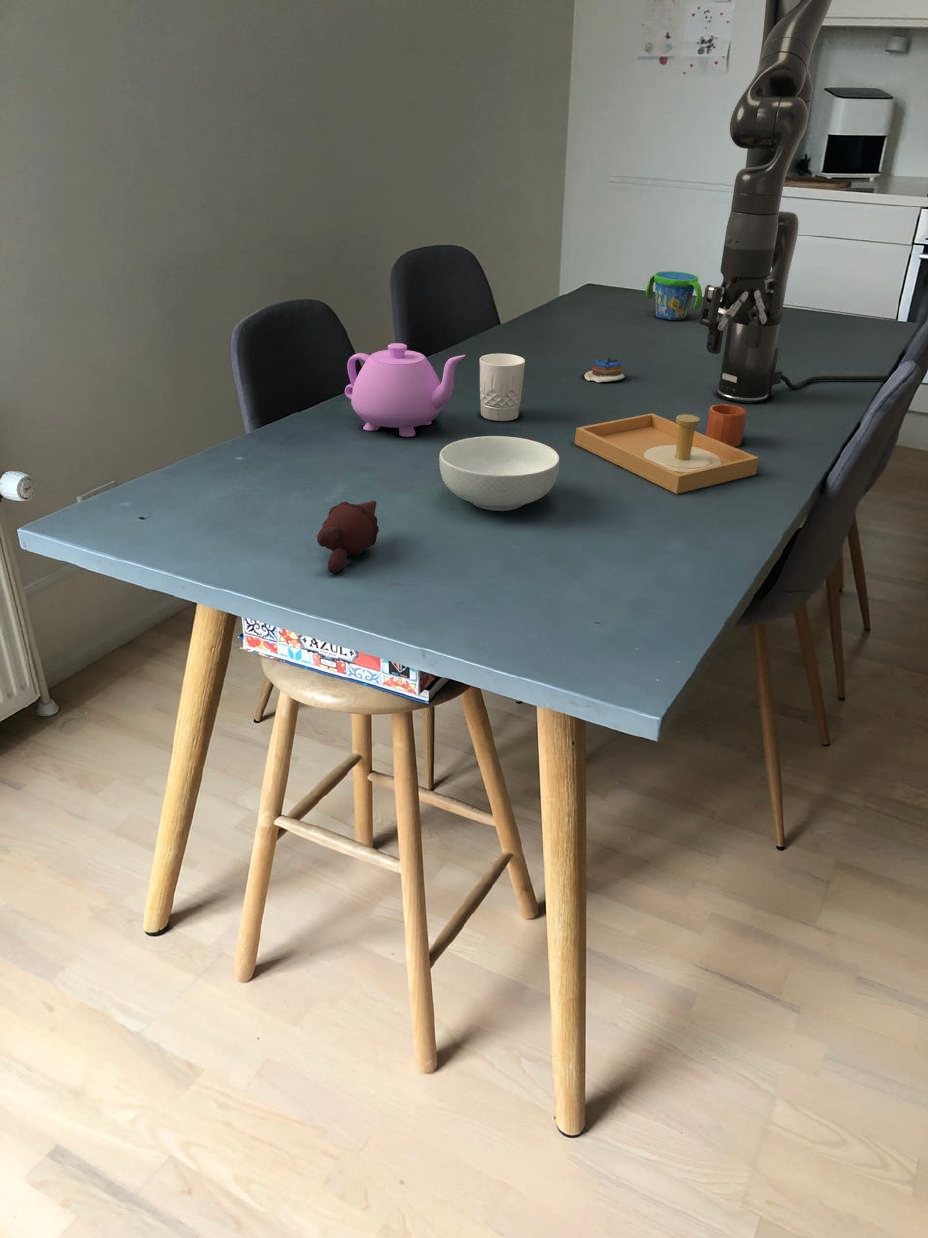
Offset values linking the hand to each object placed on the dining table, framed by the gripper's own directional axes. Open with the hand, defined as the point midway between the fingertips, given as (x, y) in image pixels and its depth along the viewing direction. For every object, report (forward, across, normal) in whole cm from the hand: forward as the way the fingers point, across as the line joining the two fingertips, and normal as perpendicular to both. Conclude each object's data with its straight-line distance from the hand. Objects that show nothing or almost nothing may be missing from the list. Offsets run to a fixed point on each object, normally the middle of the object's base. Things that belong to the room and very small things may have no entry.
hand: (732, 349), depth 161 cm
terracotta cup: (+16, +2, 0) cm, 16 cm away
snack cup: (+17, +56, +73) cm, 94 cm away
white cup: (+16, -25, +29) cm, 41 cm away
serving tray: (+16, -14, -1) cm, 21 cm away
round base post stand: (+15, -14, -6) cm, 21 cm away
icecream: (+15, -72, -8) cm, 74 cm away
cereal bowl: (+16, -46, -3) cm, 49 cm away
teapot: (+16, -43, +32) cm, 56 cm away
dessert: (+16, +7, +39) cm, 43 cm away
